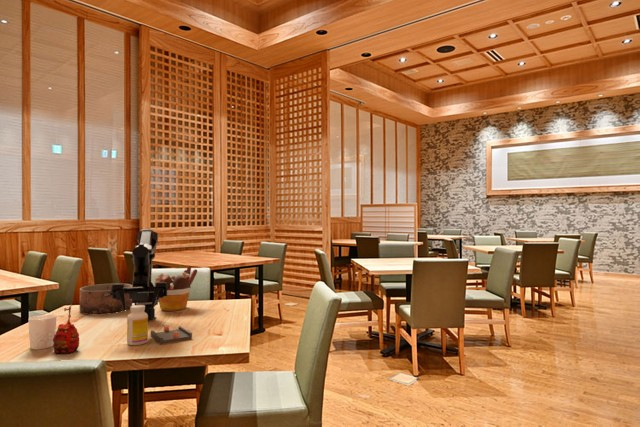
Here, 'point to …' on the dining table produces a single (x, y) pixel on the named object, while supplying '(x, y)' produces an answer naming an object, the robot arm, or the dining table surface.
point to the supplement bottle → (137, 325)
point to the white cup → (42, 331)
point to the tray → (171, 335)
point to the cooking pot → (101, 300)
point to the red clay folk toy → (66, 337)
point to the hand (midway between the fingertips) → (138, 309)
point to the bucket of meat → (176, 290)
